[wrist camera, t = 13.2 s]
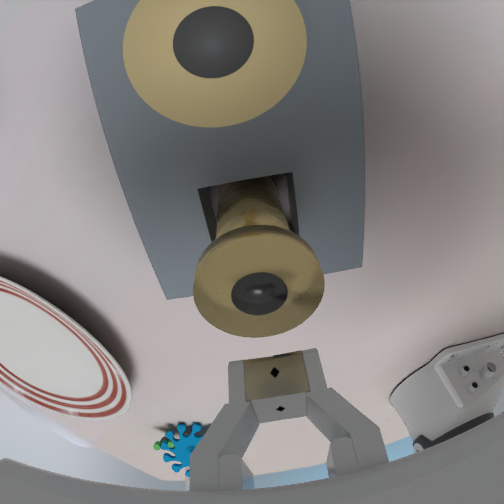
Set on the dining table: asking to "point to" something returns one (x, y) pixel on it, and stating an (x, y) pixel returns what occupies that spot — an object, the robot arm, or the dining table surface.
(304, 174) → the jig
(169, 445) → the gear
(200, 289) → the bushing
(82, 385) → the dinner plate
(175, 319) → the dining table surface
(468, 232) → the dining table surface
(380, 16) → the dining table surface
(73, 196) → the dining table surface
